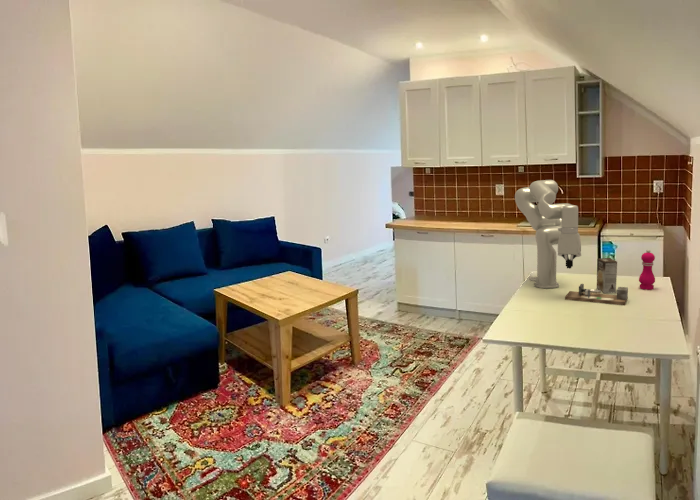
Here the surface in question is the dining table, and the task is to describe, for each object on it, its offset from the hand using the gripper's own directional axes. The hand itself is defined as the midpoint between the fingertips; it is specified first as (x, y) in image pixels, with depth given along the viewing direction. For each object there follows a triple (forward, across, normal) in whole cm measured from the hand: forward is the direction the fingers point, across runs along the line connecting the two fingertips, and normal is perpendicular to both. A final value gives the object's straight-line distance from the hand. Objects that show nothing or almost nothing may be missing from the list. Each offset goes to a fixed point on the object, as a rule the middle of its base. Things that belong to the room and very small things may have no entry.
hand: (569, 267), depth 266 cm
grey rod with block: (+12, +9, 0) cm, 16 cm away
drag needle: (+12, +10, -5) cm, 16 cm away
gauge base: (+14, +12, -1) cm, 19 cm away
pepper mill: (+14, +31, +29) cm, 45 cm away
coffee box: (+14, +14, +17) cm, 26 cm away
